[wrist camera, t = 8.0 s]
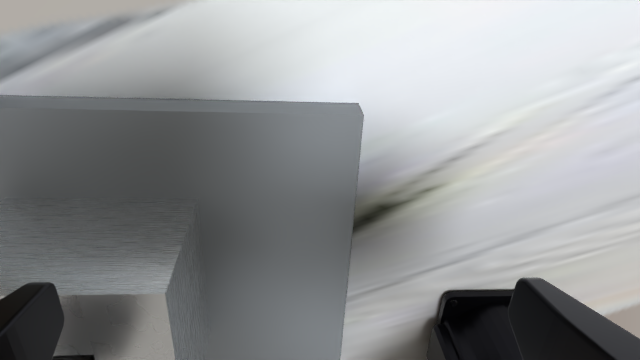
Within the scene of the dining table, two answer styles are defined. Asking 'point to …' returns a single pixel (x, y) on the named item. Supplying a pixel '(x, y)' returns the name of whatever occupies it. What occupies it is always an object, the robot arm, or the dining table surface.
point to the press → (113, 272)
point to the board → (216, 199)
